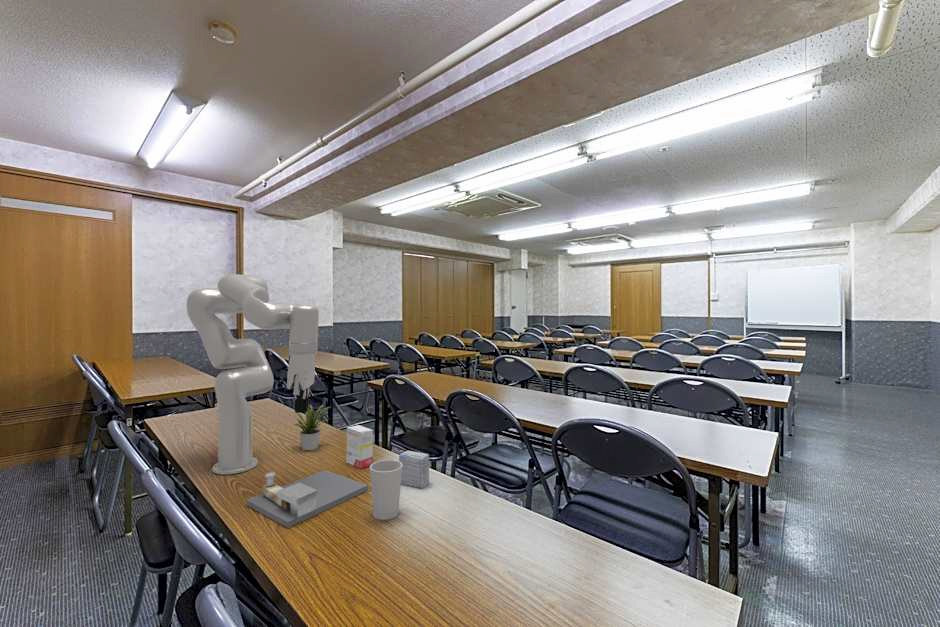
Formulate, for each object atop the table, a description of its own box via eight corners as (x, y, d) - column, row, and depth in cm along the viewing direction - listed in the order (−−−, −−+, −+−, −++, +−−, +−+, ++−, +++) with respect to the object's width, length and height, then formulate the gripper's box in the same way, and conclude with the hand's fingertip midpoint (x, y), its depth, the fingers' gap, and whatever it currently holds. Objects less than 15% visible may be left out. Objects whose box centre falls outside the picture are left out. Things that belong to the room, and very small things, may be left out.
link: (260, 493, 107) (260, 485, 107) (273, 489, 110) (273, 481, 110) (284, 510, 98) (284, 501, 98) (299, 505, 101) (299, 496, 101)
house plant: (342, 446, 150) (342, 403, 150) (309, 458, 138) (309, 410, 138) (317, 440, 157) (317, 398, 157) (284, 450, 146) (284, 405, 146)
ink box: (373, 465, 133) (373, 429, 133) (360, 469, 129) (361, 432, 129) (358, 458, 138) (358, 424, 138) (345, 462, 135) (345, 427, 134)
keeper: (277, 508, 100) (277, 490, 100) (299, 499, 105) (299, 482, 105) (295, 518, 96) (296, 499, 96) (318, 508, 101) (318, 490, 101)
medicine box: (429, 483, 119) (429, 453, 119) (421, 489, 115) (421, 458, 115) (407, 478, 122) (407, 449, 122) (398, 484, 118) (398, 454, 118)
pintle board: (246, 505, 105) (246, 478, 105) (325, 474, 125) (325, 451, 125) (288, 528, 94) (288, 497, 94) (367, 490, 114) (367, 465, 114)
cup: (407, 508, 104) (408, 462, 104) (391, 524, 96) (392, 473, 96) (380, 503, 106) (380, 458, 106) (363, 518, 99) (363, 469, 99)
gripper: (299, 345, 123) (297, 404, 124) (279, 351, 108) (277, 419, 109) (324, 346, 124) (322, 405, 124) (308, 352, 109) (306, 419, 109)
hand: (301, 411), depth 116 cm, fingers closed
